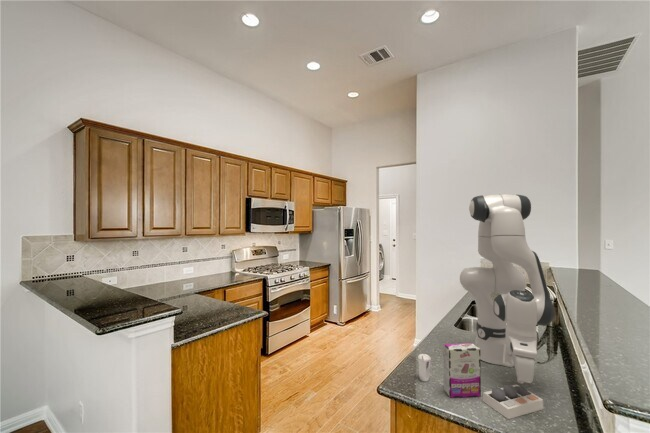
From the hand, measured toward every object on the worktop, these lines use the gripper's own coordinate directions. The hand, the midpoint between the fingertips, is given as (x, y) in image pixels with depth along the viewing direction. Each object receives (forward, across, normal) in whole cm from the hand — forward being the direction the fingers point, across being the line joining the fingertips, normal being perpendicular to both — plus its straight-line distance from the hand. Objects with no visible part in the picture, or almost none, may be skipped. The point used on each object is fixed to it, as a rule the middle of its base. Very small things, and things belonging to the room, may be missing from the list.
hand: (520, 380), depth 99 cm
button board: (+6, +5, -3) cm, 8 cm away
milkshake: (+6, +3, -30) cm, 31 cm away
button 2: (+5, +1, 0) cm, 5 cm away
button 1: (+4, +8, -7) cm, 11 cm away
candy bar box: (+6, +6, -18) cm, 20 cm away
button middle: (+4, +5, -3) cm, 7 cm away
